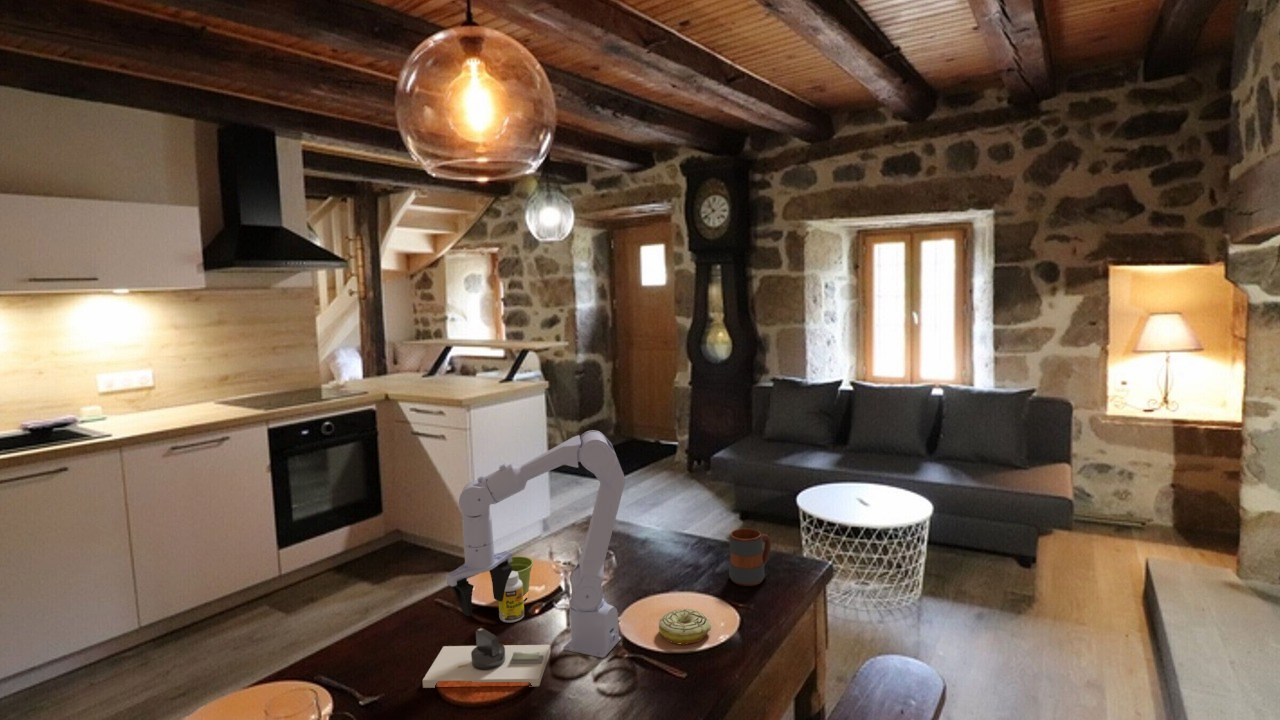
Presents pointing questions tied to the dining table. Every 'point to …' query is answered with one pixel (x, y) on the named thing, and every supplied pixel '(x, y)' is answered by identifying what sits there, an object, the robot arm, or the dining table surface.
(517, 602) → the supplement bottle
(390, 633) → the dining table surface
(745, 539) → the mug
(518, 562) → the plant pot
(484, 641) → the knob
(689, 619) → the decorated donut
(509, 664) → the base plate
